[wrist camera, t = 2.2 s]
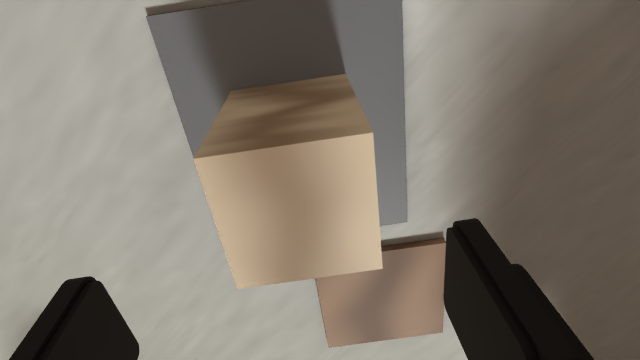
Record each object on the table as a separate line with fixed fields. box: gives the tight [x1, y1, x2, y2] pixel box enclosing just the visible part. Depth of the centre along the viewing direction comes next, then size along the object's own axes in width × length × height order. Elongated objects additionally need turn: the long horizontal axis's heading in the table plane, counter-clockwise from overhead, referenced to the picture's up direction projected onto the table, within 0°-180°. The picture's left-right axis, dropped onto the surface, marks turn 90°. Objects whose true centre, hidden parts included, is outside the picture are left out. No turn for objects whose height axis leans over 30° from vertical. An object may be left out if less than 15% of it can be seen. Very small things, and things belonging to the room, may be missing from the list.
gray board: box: [146, 0, 407, 226], centre depth 21 cm, size 12×14×1 cm
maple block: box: [194, 74, 383, 289], centre depth 17 cm, size 6×6×8 cm
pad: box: [316, 238, 446, 348], centre depth 27 cm, size 9×9×1 cm
